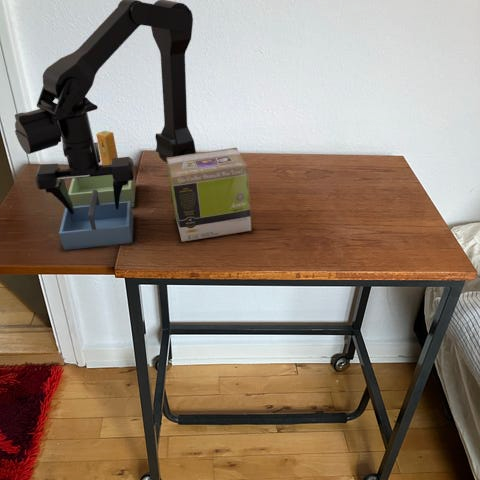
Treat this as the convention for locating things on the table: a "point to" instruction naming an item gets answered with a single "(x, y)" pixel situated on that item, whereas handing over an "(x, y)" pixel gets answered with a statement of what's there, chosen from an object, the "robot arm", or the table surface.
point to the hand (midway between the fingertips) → (95, 211)
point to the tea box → (210, 193)
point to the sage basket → (99, 190)
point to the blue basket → (97, 225)
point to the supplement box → (106, 147)
